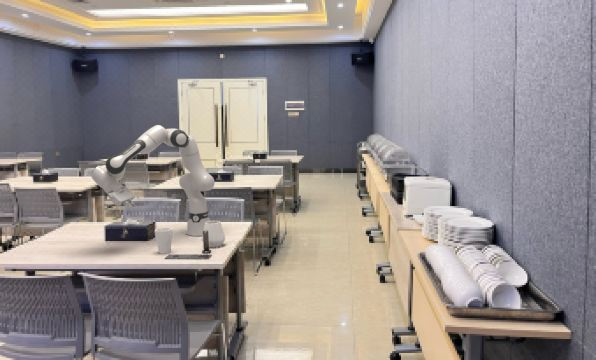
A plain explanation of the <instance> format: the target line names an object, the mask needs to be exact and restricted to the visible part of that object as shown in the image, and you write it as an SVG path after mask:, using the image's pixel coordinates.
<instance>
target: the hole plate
mask: <svg viewBox="0 0 596 360" xmlns="http://www.w3.org/2000/svg"><path fill="white" fill-rule="evenodd" d="M212 256H213V254H195V253H194V254H172V253H171V254H169V253H168V255H166V256H165V257H164V260H209V259H210V258H212Z"/></svg>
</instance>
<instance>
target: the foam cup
mask: <svg viewBox="0 0 596 360" xmlns="http://www.w3.org/2000/svg"><path fill="white" fill-rule="evenodd" d="M154 235H155V239H156V240H155V241H156V244H157V245H156V246H157V249H158V253H159V255H166V254H169V253H171V252H172V239H173V228H172V227H160V228H156V229H155V230H154Z"/></svg>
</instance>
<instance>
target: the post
mask: <svg viewBox="0 0 596 360" xmlns="http://www.w3.org/2000/svg"><path fill="white" fill-rule="evenodd" d="M202 245H203V250H201V254H202V255H209V254H211V253H212V249H210V248H209V236H208V231H203V241H202Z"/></svg>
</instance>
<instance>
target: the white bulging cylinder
mask: <svg viewBox="0 0 596 360" xmlns="http://www.w3.org/2000/svg"><path fill="white" fill-rule="evenodd" d="M204 231H208V236H209V249H212V248H220V247H222V246H223V244H224V242H225V241H226V236H225V233H224V229H223V225H222V223H221V221H220V220H211V221H208V222H206V223H205V226H204ZM201 241H202V242H203V236H201Z"/></svg>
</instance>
